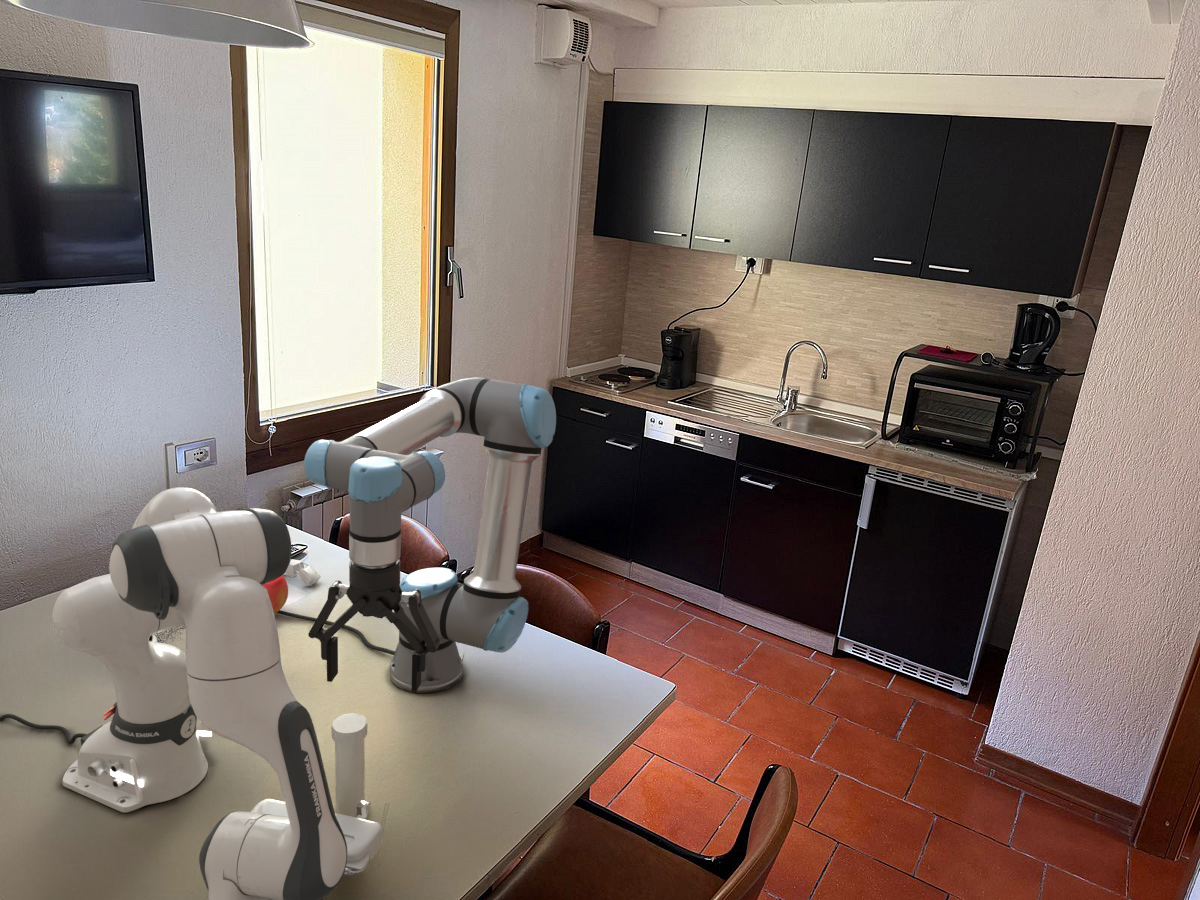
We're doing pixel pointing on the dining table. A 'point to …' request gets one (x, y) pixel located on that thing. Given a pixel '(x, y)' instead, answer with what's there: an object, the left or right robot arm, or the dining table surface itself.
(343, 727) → the lid
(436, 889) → the dining table surface
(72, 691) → the dining table surface
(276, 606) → the apple
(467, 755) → the dining table surface
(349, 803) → the white tall cylinder
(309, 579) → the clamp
